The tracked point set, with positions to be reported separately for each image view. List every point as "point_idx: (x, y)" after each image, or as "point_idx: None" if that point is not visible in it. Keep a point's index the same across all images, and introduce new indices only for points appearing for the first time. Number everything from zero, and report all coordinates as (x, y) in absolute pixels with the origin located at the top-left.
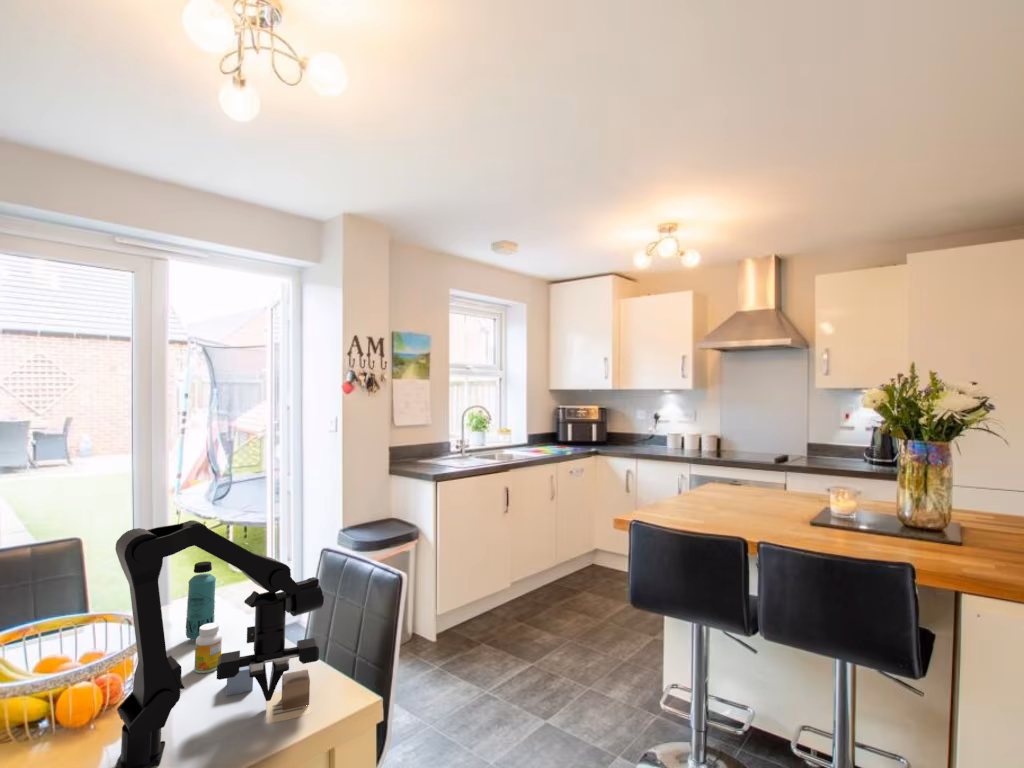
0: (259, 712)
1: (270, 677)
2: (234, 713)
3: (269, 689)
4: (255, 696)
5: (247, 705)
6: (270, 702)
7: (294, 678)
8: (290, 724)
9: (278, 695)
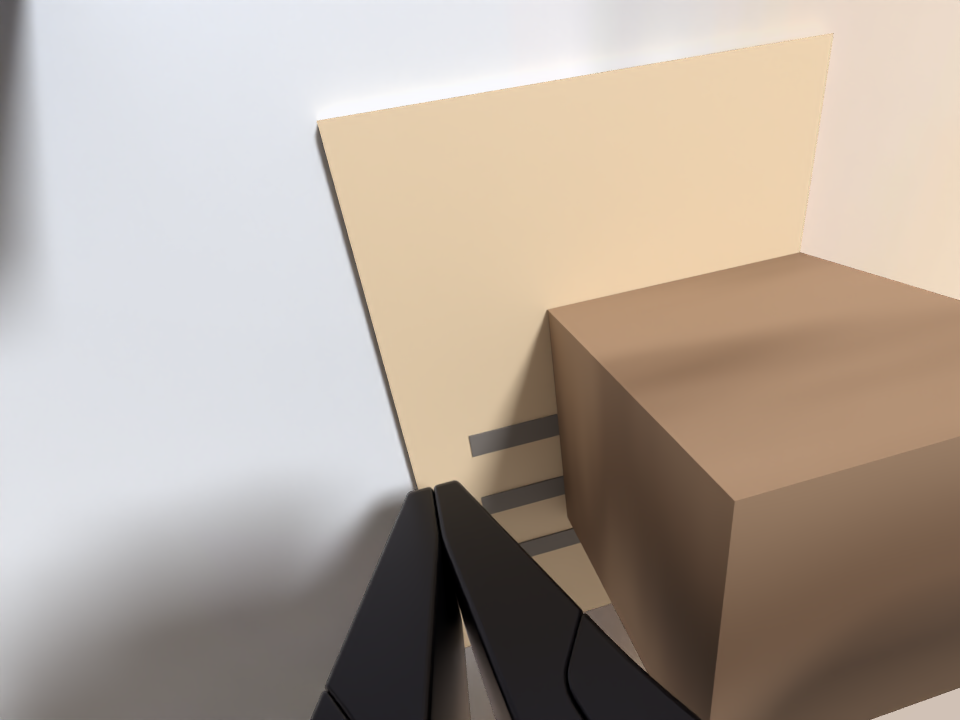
0: (357, 498)
1: (507, 711)
2: (76, 493)
3: (483, 679)
4: (173, 137)
5: (160, 359)
6: (435, 371)
7: (876, 643)
8: (615, 632)
9: (507, 229)
